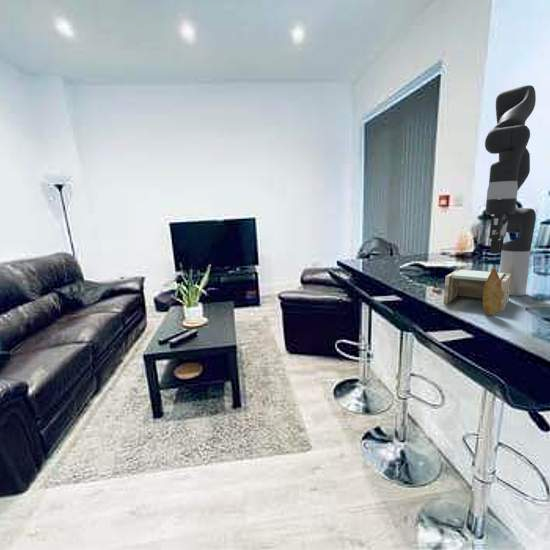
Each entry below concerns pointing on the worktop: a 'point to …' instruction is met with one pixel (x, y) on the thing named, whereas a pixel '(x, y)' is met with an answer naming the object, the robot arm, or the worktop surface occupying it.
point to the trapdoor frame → (473, 288)
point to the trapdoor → (474, 275)
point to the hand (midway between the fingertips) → (496, 252)
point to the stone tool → (492, 293)
